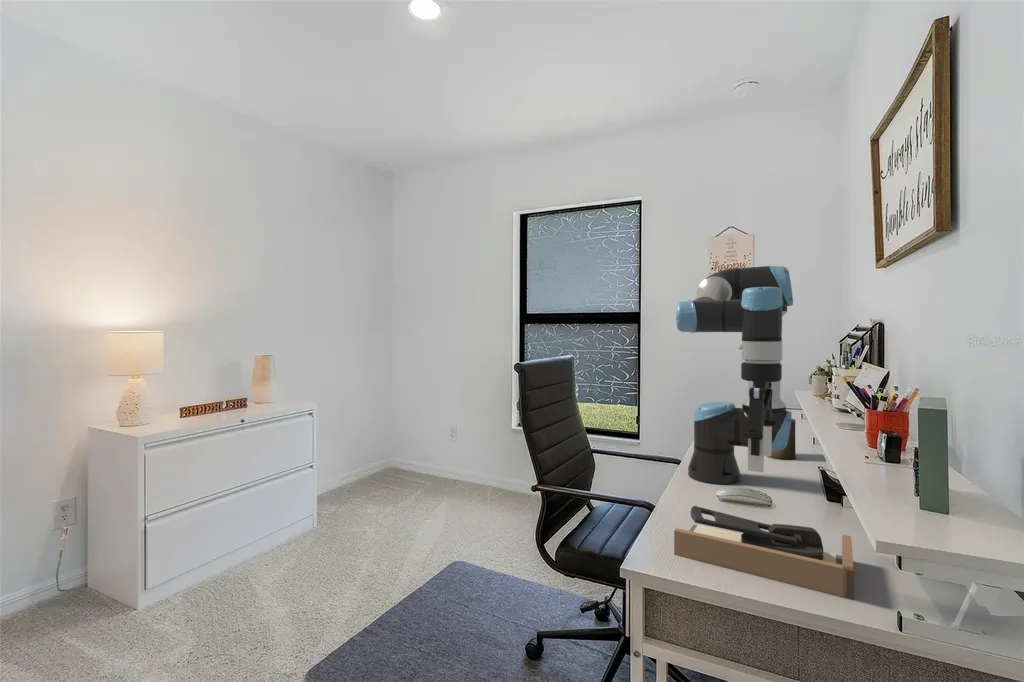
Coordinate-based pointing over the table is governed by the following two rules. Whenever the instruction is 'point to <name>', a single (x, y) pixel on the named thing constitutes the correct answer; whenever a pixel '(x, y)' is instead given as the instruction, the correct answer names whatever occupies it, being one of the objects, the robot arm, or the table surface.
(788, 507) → the table surface
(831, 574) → the tray
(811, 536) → the zipper pull
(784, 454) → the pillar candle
